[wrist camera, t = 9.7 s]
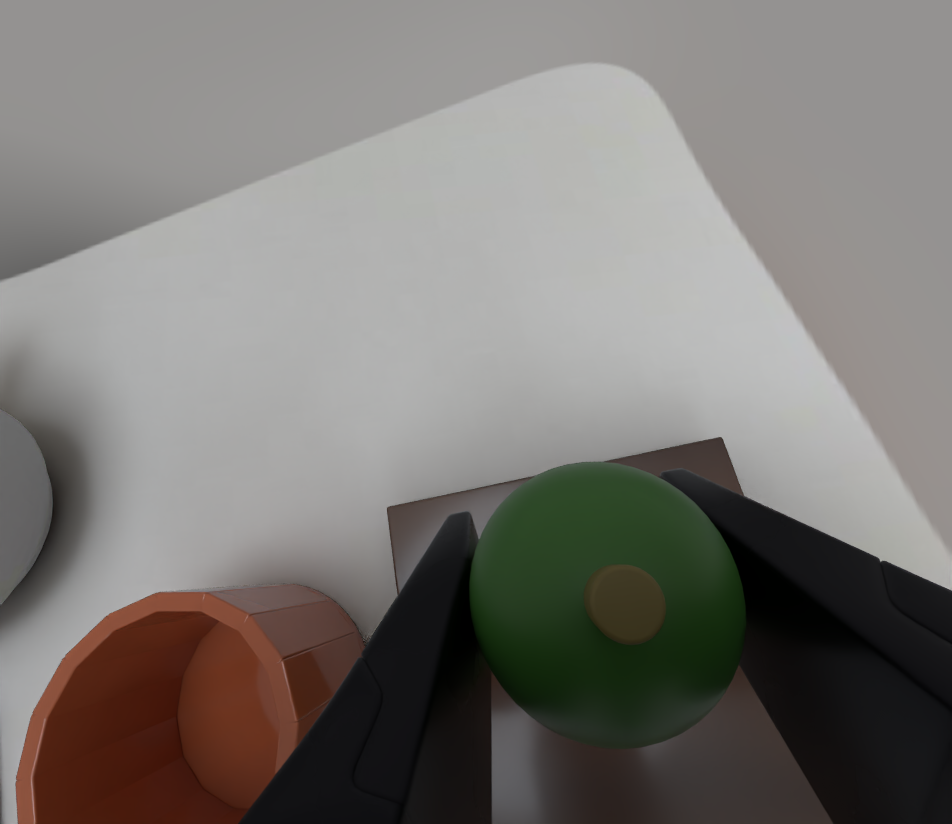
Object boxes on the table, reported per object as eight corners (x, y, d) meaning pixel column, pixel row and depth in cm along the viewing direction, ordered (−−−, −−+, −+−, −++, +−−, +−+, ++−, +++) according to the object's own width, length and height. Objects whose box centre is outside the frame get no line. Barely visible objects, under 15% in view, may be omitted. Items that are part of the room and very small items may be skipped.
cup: (366, 825, 15) (277, 960, 10) (157, 813, 16) (-24, 933, 11) (378, 582, 18) (310, 591, 12) (195, 584, 18) (59, 592, 13)
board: (1000, 1253, 11) (1067, 1355, 10) (501, 1305, 12) (496, 1406, 10) (707, 446, 18) (722, 435, 16) (397, 511, 18) (385, 507, 17)
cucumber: (608, 658, 14) (813, 935, 4) (492, 613, 15) (381, 734, 4) (636, 538, 15) (865, 478, 4) (526, 502, 16) (503, 380, 5)
